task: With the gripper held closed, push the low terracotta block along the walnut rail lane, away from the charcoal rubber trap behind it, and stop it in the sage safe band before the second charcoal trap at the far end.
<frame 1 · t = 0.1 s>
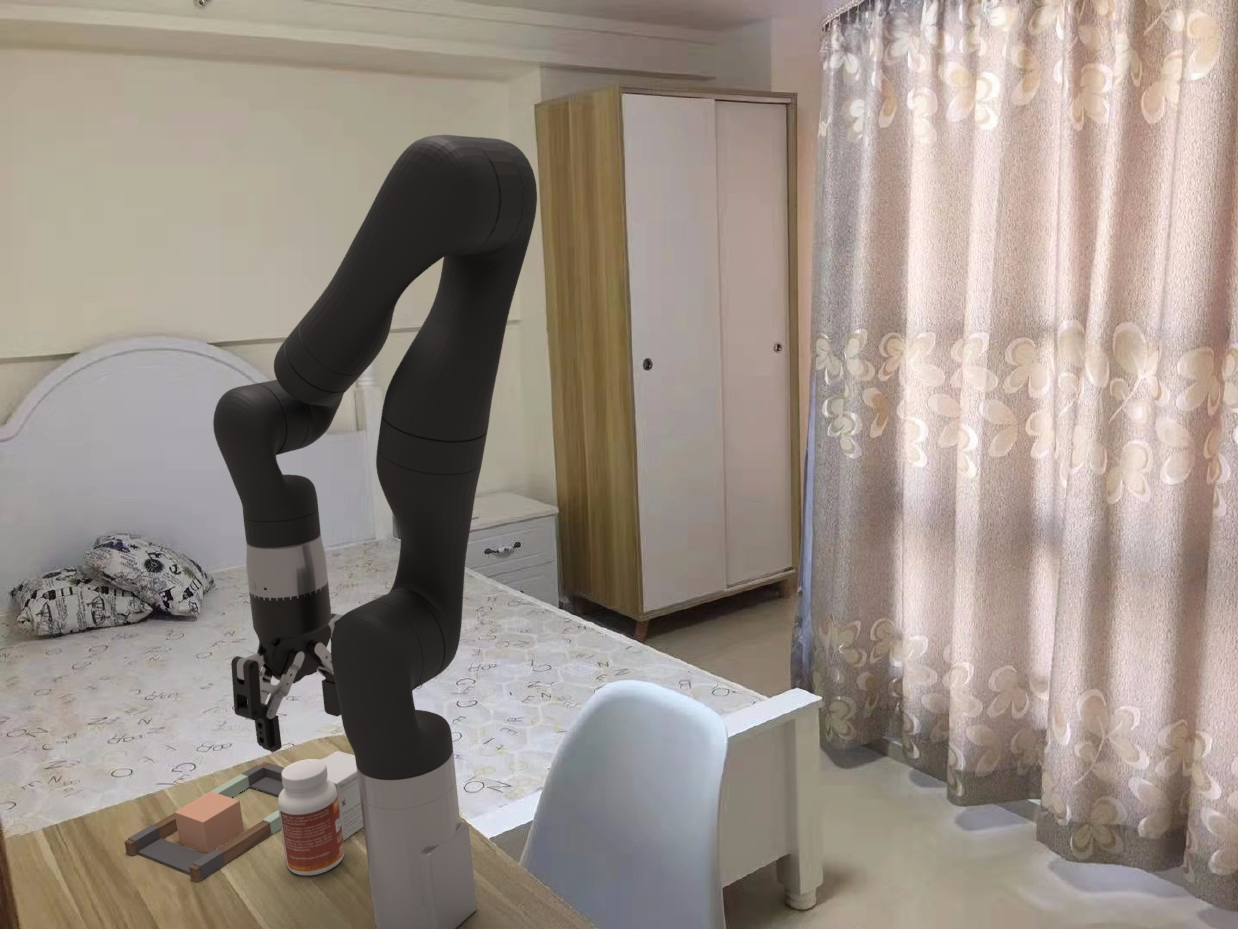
hand: (304, 730, 108), 17 cm above the table, tool pointing down, fingers open, 8 cm apart
pill bottle: (316, 863, 115), on the table
product box: (343, 825, 122), on the table
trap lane: (235, 822, 124), on the table
terracotta block: (212, 837, 121), on the table
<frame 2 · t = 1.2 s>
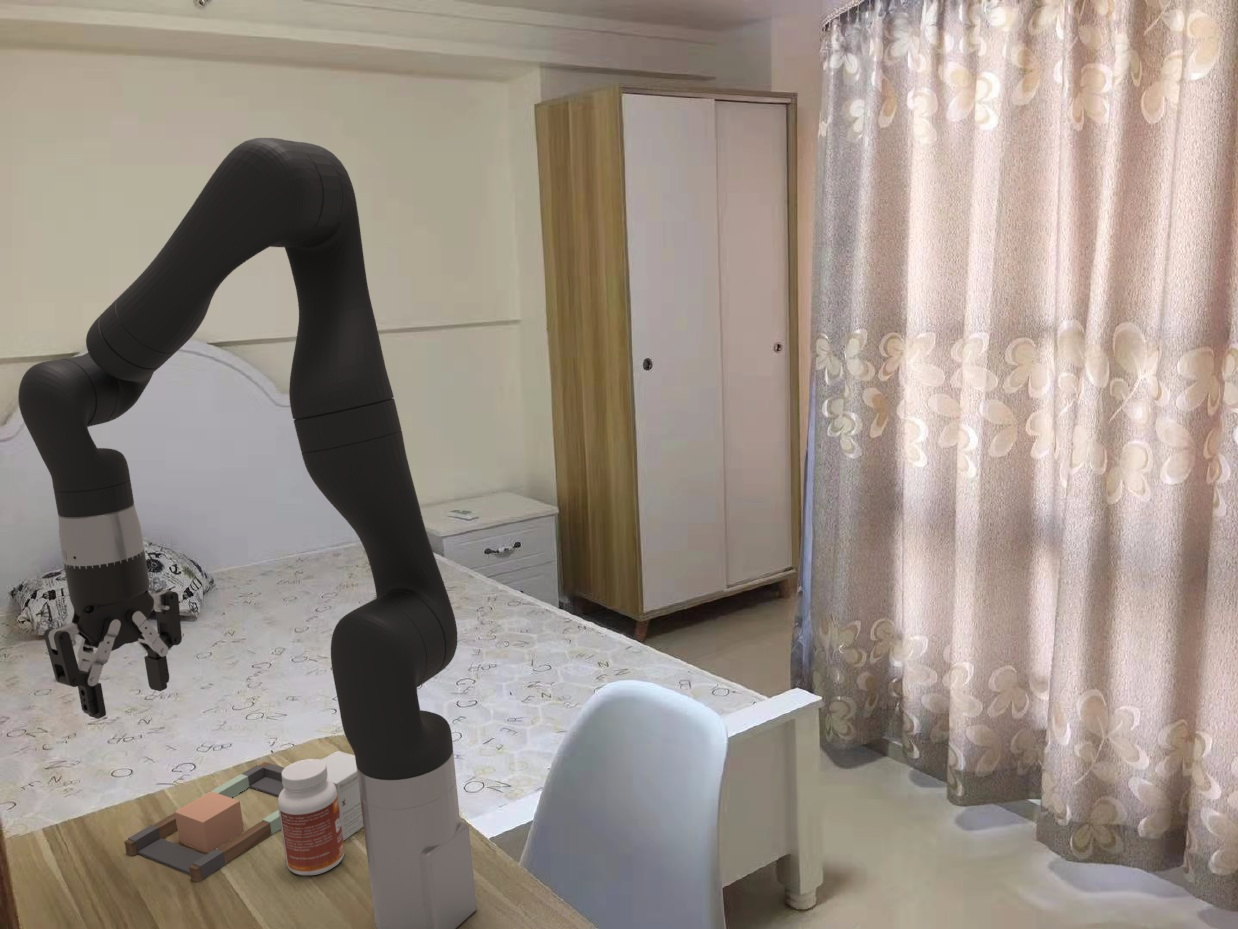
hand: (128, 701, 111), 20 cm above the table, tool pointing down, fingers open, 6 cm apart
nothing on the table moved.
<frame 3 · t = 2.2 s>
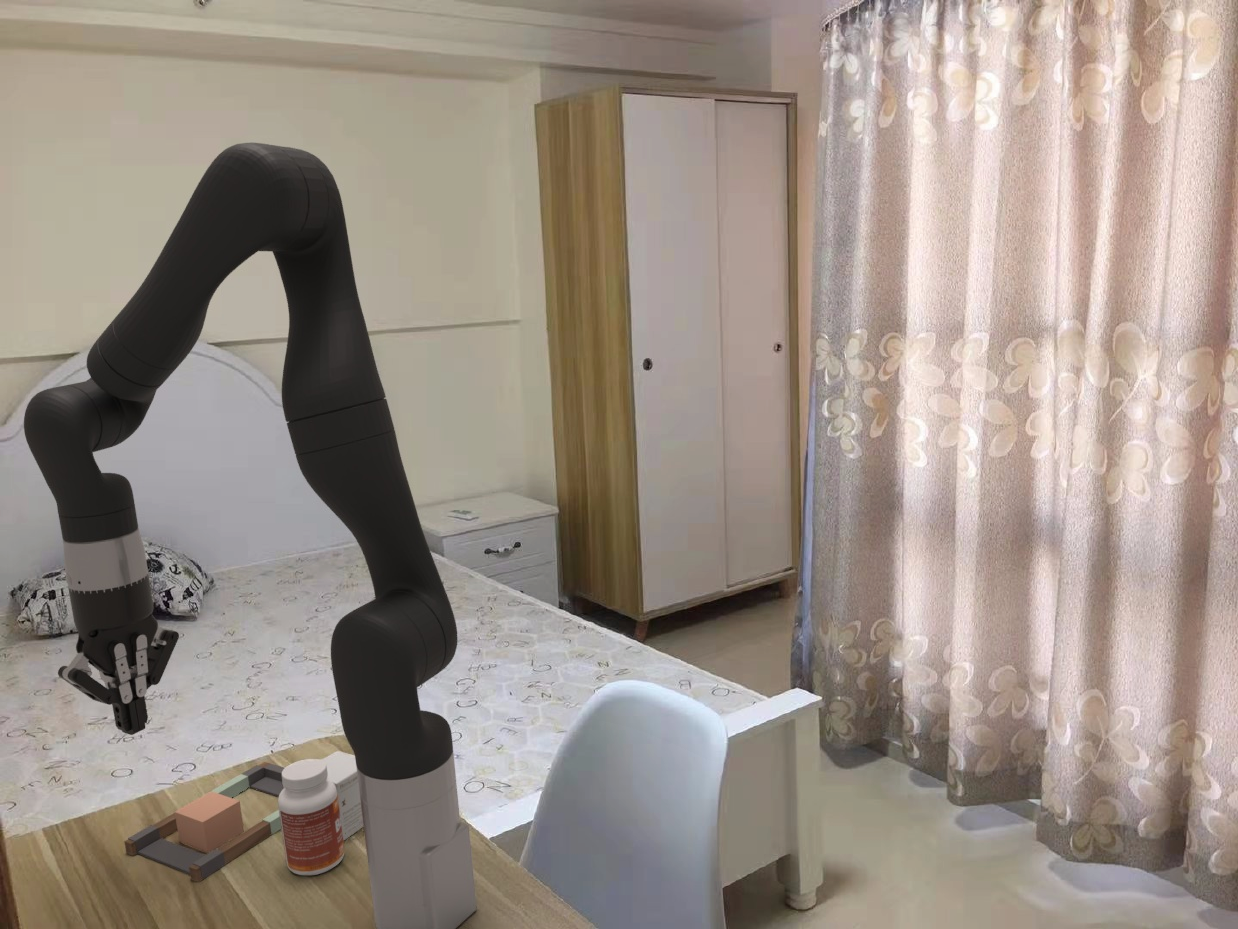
hand: (133, 730, 112), 17 cm above the table, tool pointing down, fingers closed
nothing on the table moved.
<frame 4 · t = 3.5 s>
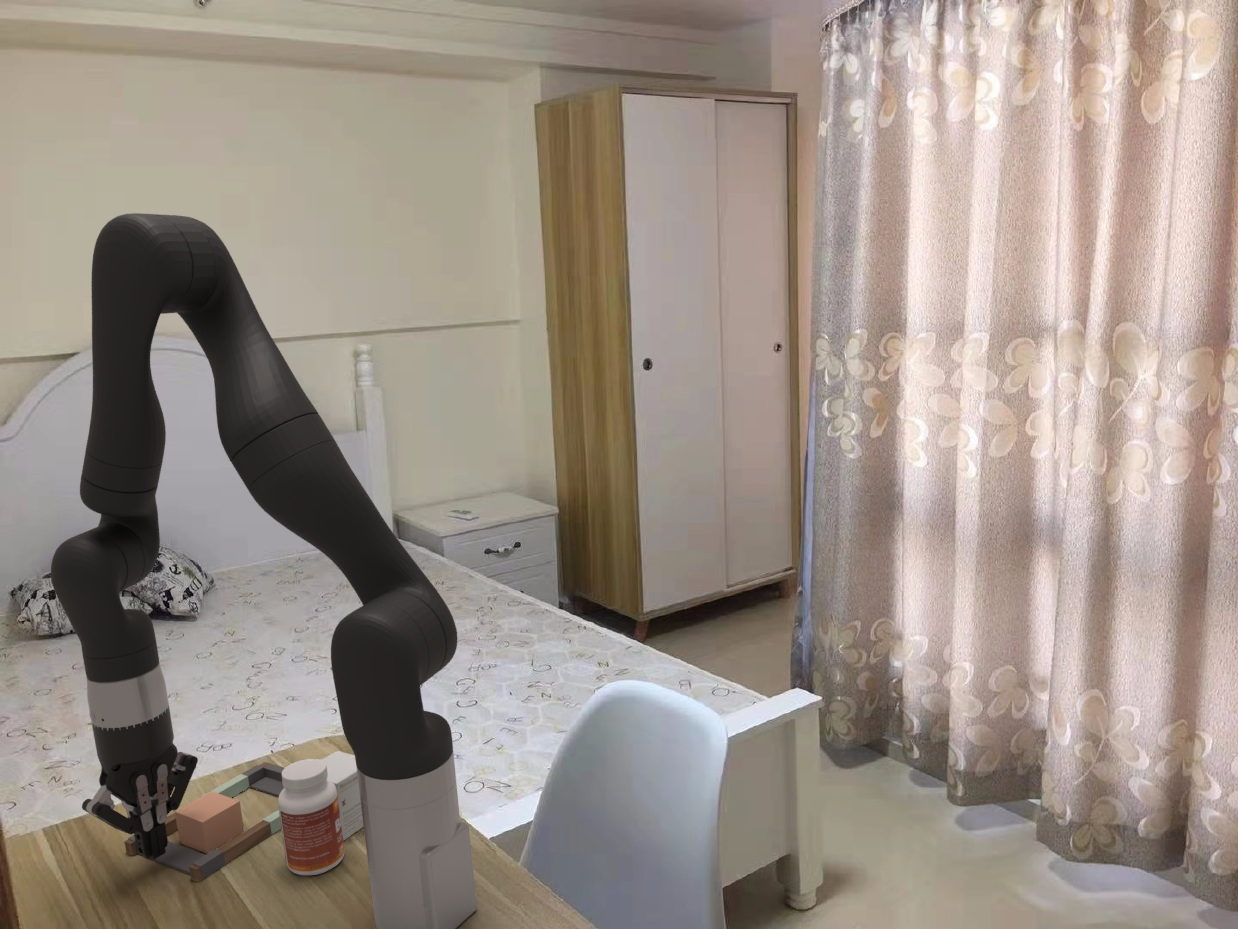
hand: (154, 855, 115), 2 cm above the table, tool pointing down, fingers closed
nothing on the table moved.
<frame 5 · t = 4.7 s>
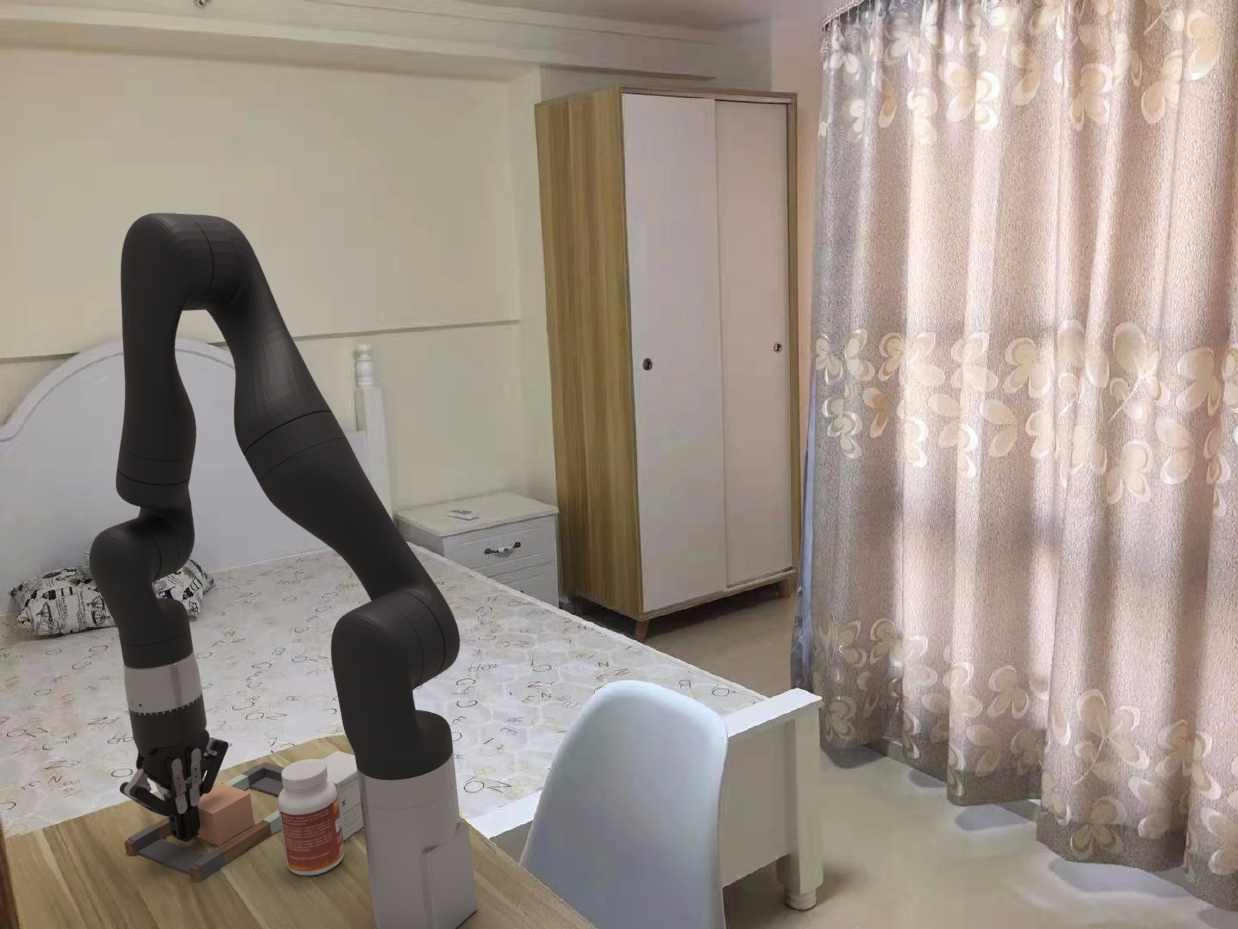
hand: (187, 837, 118), 2 cm above the table, tool pointing down, fingers closed
terracotta block: (222, 829, 123), on the table, touching gripper
everything else where it was.
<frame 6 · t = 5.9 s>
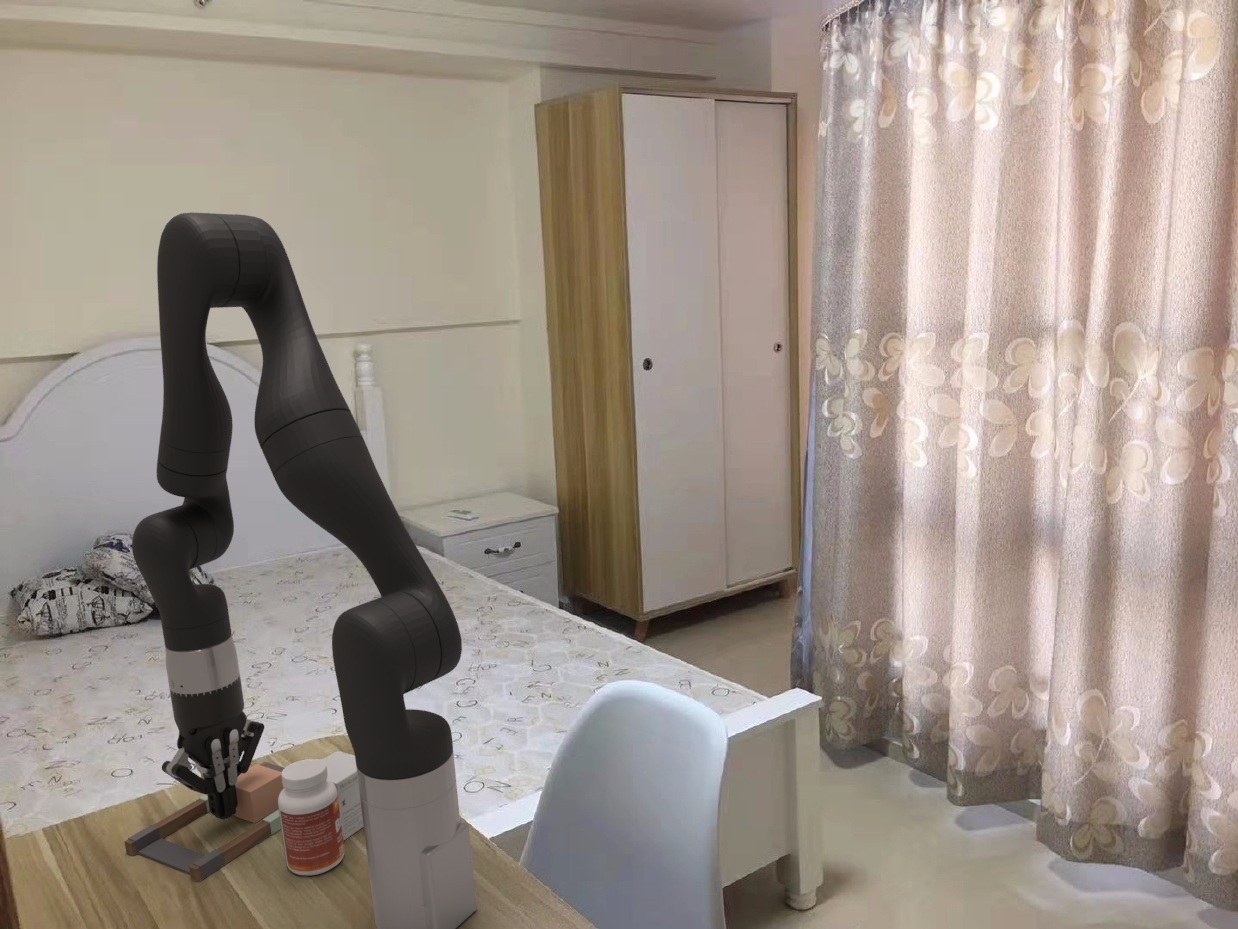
hand: (225, 815, 123), 2 cm above the table, tool pointing down, fingers closed
terracotta block: (257, 808, 127), on the table, touching gripper
everything else where it was.
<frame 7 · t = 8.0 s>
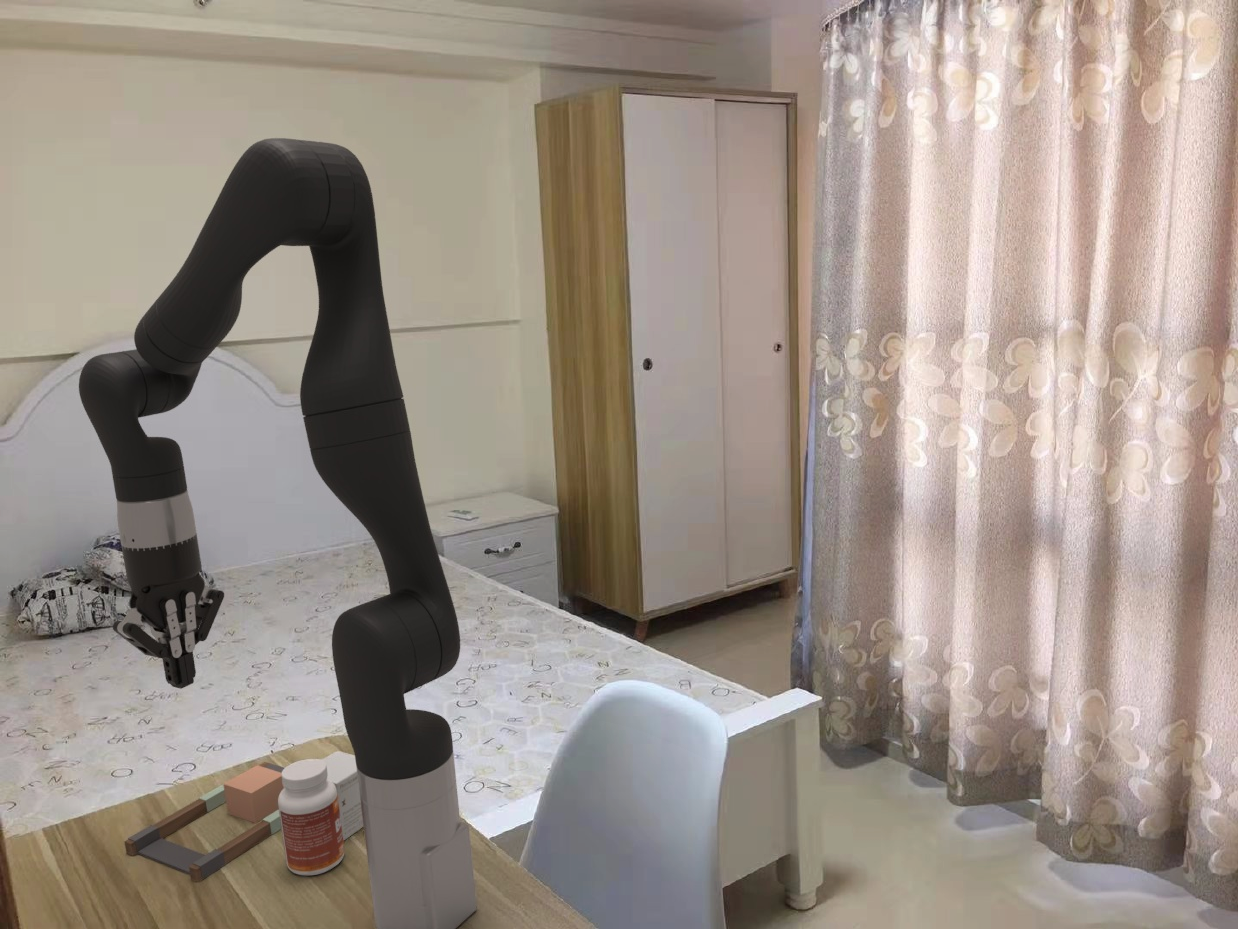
hand: (182, 685, 117), 19 cm above the table, tool pointing down, fingers closed
terracotta block: (258, 809, 127), on the table
everything else where it was.
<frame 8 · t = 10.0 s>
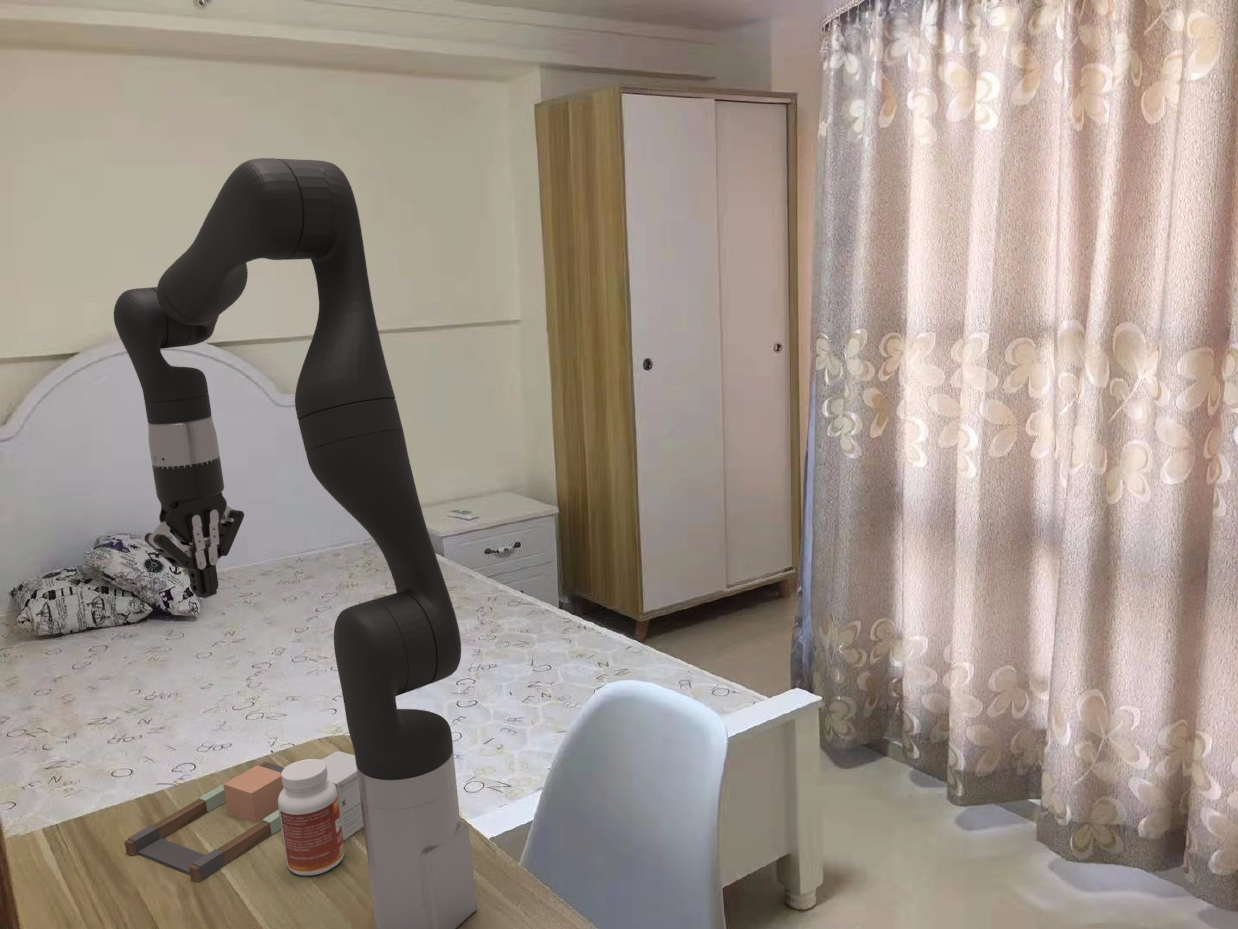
hand: (206, 595, 128), 25 cm above the table, tool pointing down, fingers closed
nothing on the table moved.
at the end: terracotta block 1.0 cm from the target spot, on the table; terracotta block tilted 0°; terracotta block moved 6.8 cm from its start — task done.
